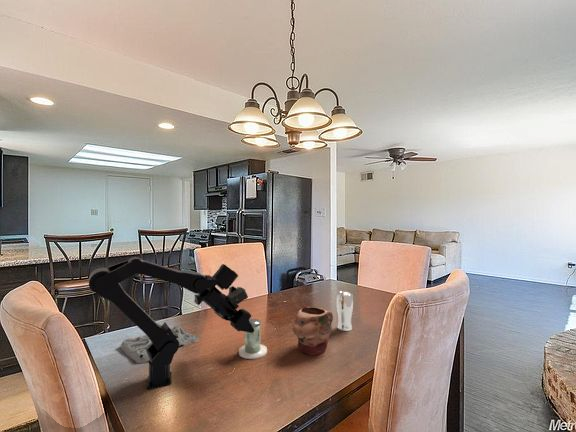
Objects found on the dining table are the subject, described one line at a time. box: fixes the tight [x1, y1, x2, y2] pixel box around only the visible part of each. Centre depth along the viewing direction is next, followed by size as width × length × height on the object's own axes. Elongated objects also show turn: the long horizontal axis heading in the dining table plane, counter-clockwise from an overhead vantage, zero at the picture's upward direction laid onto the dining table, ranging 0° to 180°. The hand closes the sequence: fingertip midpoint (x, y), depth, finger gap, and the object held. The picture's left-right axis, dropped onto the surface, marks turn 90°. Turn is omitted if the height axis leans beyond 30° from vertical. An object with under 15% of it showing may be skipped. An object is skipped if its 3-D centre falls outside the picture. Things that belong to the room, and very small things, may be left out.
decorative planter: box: [292, 306, 334, 356], centre depth 105 cm, size 20×12×14 cm, turn 138°
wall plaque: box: [120, 325, 200, 365], centre depth 108 cm, size 24×19×4 cm
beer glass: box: [336, 290, 354, 332], centre depth 123 cm, size 7×7×15 cm
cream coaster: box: [238, 343, 268, 360], centre depth 102 cm, size 10×10×1 cm
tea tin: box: [244, 318, 261, 354], centre depth 101 cm, size 6×6×10 cm
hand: (247, 327), depth 100 cm, fingers open, 9 cm apart
